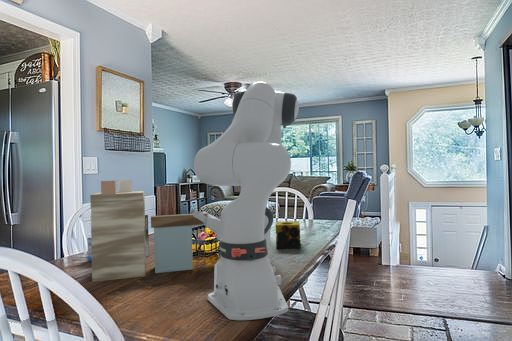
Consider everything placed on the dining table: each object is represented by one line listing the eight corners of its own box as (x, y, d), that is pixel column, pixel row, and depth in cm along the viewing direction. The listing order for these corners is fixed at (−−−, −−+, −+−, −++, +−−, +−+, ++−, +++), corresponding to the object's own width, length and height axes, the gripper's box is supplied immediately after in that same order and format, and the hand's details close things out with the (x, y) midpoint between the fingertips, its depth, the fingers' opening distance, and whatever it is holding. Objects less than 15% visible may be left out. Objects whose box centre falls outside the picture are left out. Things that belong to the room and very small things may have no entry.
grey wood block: (145, 276, 107) (143, 192, 108) (92, 281, 103) (90, 194, 103) (146, 265, 120) (144, 190, 120) (99, 270, 116) (97, 192, 116)
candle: (300, 244, 150) (299, 221, 150) (301, 249, 140) (300, 224, 140) (276, 244, 151) (276, 221, 151) (276, 249, 141) (275, 224, 141)
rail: (209, 224, 118) (208, 213, 118) (151, 227, 113) (150, 217, 113) (207, 222, 121) (207, 212, 121) (151, 226, 116) (150, 216, 116)
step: (192, 269, 114) (191, 226, 114) (155, 273, 111) (154, 228, 111) (190, 263, 122) (189, 223, 122) (155, 266, 118) (154, 225, 118)
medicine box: (87, 260, 129) (86, 237, 129) (97, 258, 133) (97, 235, 133) (101, 263, 126) (100, 239, 126) (111, 260, 130) (111, 237, 130)
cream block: (132, 191, 116) (132, 179, 116) (120, 192, 114) (120, 180, 114) (130, 191, 119) (129, 179, 119) (118, 192, 117) (118, 180, 117)
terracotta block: (115, 193, 105) (115, 180, 105) (101, 194, 104) (100, 181, 104) (116, 193, 109) (116, 180, 109) (103, 193, 108) (102, 180, 108)
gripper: (225, 218, 132) (193, 201, 129) (238, 225, 112) (200, 206, 109) (217, 233, 131) (185, 216, 128) (228, 243, 111) (190, 224, 108)
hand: (192, 211), depth 118 cm, fingers open, 8 cm apart
